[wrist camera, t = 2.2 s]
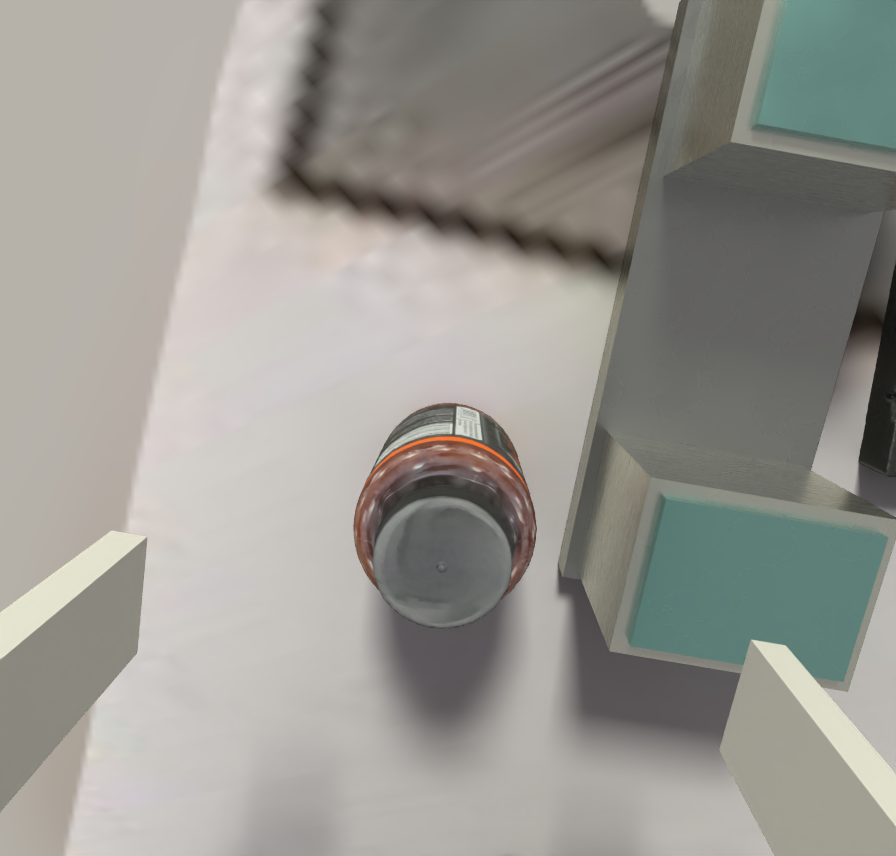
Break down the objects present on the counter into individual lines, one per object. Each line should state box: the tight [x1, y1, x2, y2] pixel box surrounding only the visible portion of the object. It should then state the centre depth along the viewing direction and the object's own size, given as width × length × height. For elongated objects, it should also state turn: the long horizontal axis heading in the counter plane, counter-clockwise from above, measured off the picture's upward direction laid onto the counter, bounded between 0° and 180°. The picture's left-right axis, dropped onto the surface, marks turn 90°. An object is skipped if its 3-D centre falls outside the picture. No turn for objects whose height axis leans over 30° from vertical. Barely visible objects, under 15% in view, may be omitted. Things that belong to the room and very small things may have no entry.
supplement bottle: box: [354, 403, 537, 629], centre depth 26 cm, size 6×6×11 cm
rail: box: [558, 0, 896, 692], centre depth 26 cm, size 23×9×9 cm, turn 170°
